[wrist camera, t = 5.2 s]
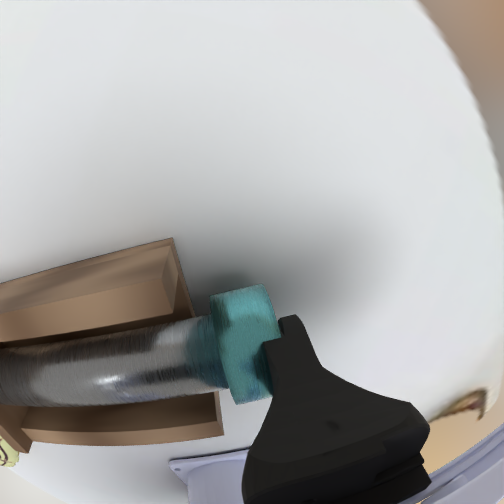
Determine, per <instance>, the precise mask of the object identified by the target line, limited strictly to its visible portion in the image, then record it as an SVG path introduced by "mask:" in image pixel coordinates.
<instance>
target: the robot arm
mask: <svg viewBox="0 0 504 504" xmlns="http://www.w3.org/2000/svg"><path fill="white" fill-rule="evenodd" d="M278 327H279V331H280V334H281V338H277V339H272V340H268V341H264V342H263V345H264V349H265V352H266V356H267V360H268V364H269V368H270V373H271V378H272V383H273V390H274V395H273V398H272V402H271V405H270V407H269V410H268V413H267V415H266V417H265V420H264V422H263V424H262V427H261V429H260V431H259V433H258V435H257V437H256V439H255V440H254V442H253V444H252V446H251V447H250V449H248V450H243V451H238V452H232V453H227V454H221V455H214V456H207V457H200V458H192V459H182V460H172V461H170V462H169V467H170V468H171V469H172V470H173V472H174V473H175V474H176V475H177V476H178V477H179V478H180V479H181V480H182V481H183V482H184V483H185V484H186V485H187V486H188V499H189V504H416V503H418V502H420V501H422V500H423V499H425V498H427V497H428V498H427V499H425V500H424V501H422V502H421V504H497V503H498V502H499V501H500V500H501V499H502V498H504V423H503V424H501V425H500V426H499V427H498V428H497V429H495V430H494V431H493V432H492V433H490V434H489V435H488V436H487V437H485V438H484V439H483V440H481V441H480V442H479V443H477V444H476V445H474V446H473V447H472V448H470V449H469V450H467V451H466V452H464V453H463V454H461V455H460V456H458V457H457V458H455V459H454V460H452V461H451V462H449V463H447V464H446V465H444V466H443V467H441V468H440V469H437V470H436V471H434V472H432V473H431V474H429V475H428V474H427V472H426V470H425V469H424V467H423V465H422V464H423V463H424V459H423V457H422V456H421V454H420V451H421V449H422V447H423V445H424V444H425V442H426V440H427V438H428V435H429V432H430V426H429V424H428V423H427V421H426V420H425V419H424V417H423V416H422V415H421V414H420V412H419V411H418V410H417V409H416V408H415V407H414V406H413V405H412V404H411V403H410V402H405V401H401V400H397V399H393V398H389V397H385V396H382V395H379V394H376V393H373V392H370V391H368V390H365V389H363V388H361V387H358V386H356V385H354V384H352V383H349V382H347V381H345V380H344V379H342V378H340V377H338V376H336V375H335V374H333V373H331V372H330V371H328V370H326V369H325V368H323V367H322V365H321V364H320V362H319V360H318V358H317V356H316V354H315V351H314V349H313V346H312V344H311V341H310V339H309V337H308V334H307V332H306V329H305V327H304V325H303V323H302V321H301V320H300V319H299V317H298V316H297V315H296V314H295V315H291V316H286V317H282V318H280V319H279V320H278ZM429 496H430V497H429Z"/></svg>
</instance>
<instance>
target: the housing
mask: <svg viewBox="0 0 504 504" xmlns="http://www.w3.org/2000/svg"><path fill="white" fill-rule="evenodd" d="M195 317H196V316H195V312H194V309H193V306H192V303H191V300H190V297H189V293H188V290H187V287H186V283H185V280H184V277H183V273H182V270H181V266H180V263H179V259H178V256H177V252H176V249H175V245H174V241H173V238H170V239H165V240H161V241H157V242H153V243H149V244H145V245H141V246H137V247H133V248H129V249H125V250H121V251H117V252H113V253H109V254H105V255H101V256H98V257H94V258H90V259H86V260H82V261H79V262H75V263H71V264H68V265H64V266H60V267H57V268H53V269H50V270H46V271H42V272H39V273H35V274H32V275H28V276H25V277H22V278H18V279H15V280H11V281H8V282H5V283H1V284H0V349H3V348H13V347H22V346H30V345H38V344H46V343H53V342H60V341H67V340H74V339H81V338H87V337H93V336H99V335H105V334H111V333H117V332H123V331H129V330H134V329H139V328H145V327H150V326H155V325H160V324H166V323H171V322H176V321H180V320H185V319H190V318H195ZM222 435H224V431H223V423H222V416H221V408H220V400H219V392H218V391H213V392H208V393H203V394H197V395H191V396H185V397H179V398H172V399H165V400H157V401H149V402H140V403H130V404H118V405H104V406H83V407H34V406H14V405H2V404H0V436H1V437H2V438H3V439H4V440H5V441H6V442H7V443H8V444H9V445H10V446H11V447H12V448H13V449H14V450H15V451H17V452H22V453H29V450H30V447H31V444H32V442H33V441H36V442H45V443H55V444H67V445H87V446H128V445H148V444H161V443H172V442H181V441H189V440H197V439H204V438H210V437H216V436H222Z"/></svg>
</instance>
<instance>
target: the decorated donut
mask: <svg viewBox="0 0 504 504" xmlns="http://www.w3.org/2000/svg"><path fill="white" fill-rule="evenodd" d="M18 456H19V452H17V451H15V450H14V449H13V448H12V447H11V446H10V445H9V444H8V443H7V442H6V441H5V440H4V439H3V438H2V437H1V436H0V465H1V466H6V467H13V466H14V465H15V462H18V461H19V457H18Z"/></svg>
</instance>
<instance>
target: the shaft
mask: <svg viewBox="0 0 504 504" xmlns="http://www.w3.org/2000/svg"><path fill="white" fill-rule="evenodd" d="M210 308H211V314H209V315H204V316H200V317H195V318H190V319H185V320H180V321H176V322H171V323H166V324H160V325H155V326H150V327H145V328H139V329H134V330H129V331H123V332H117V333H111V334H105V335H99V336H93V337H87V338H81V339H74V340H67V341H60V342H53V343H46V344H38V345H30V346H22V347H13V348H3V349H0V404H2V405H14V406H34V407H83V406H104V405H118V404H130V403H140V402H149V401H157V400H165V399H172V398H179V397H185V396H191V395H197V394H203V393H208V392H213V391H219V390H224V389H228V388H229V389H230V392H231V394H232V397H233V399H234V401H235V403H236V405H238V404H243V403H248V402H252V401H256V400H260V399H265V398H269V397H273V395H274V390H273V383H272V378H271V373H270V368H269V364H268V360H267V356H266V352H265V349H264V345H263V342H264V341H268V340H272V339H277V338H281V334H280V331H279V327H278V323H277V320H276V317H275V313H274V310H273V307H272V304H271V302H270V299H269V296H268V294H267V291H266V289H265V287H264V286H263V284H258V285H254V286H250V287H245V288H241V289H237V290H232V291H228V292H224V293H219V294H215V295H210Z"/></svg>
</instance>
